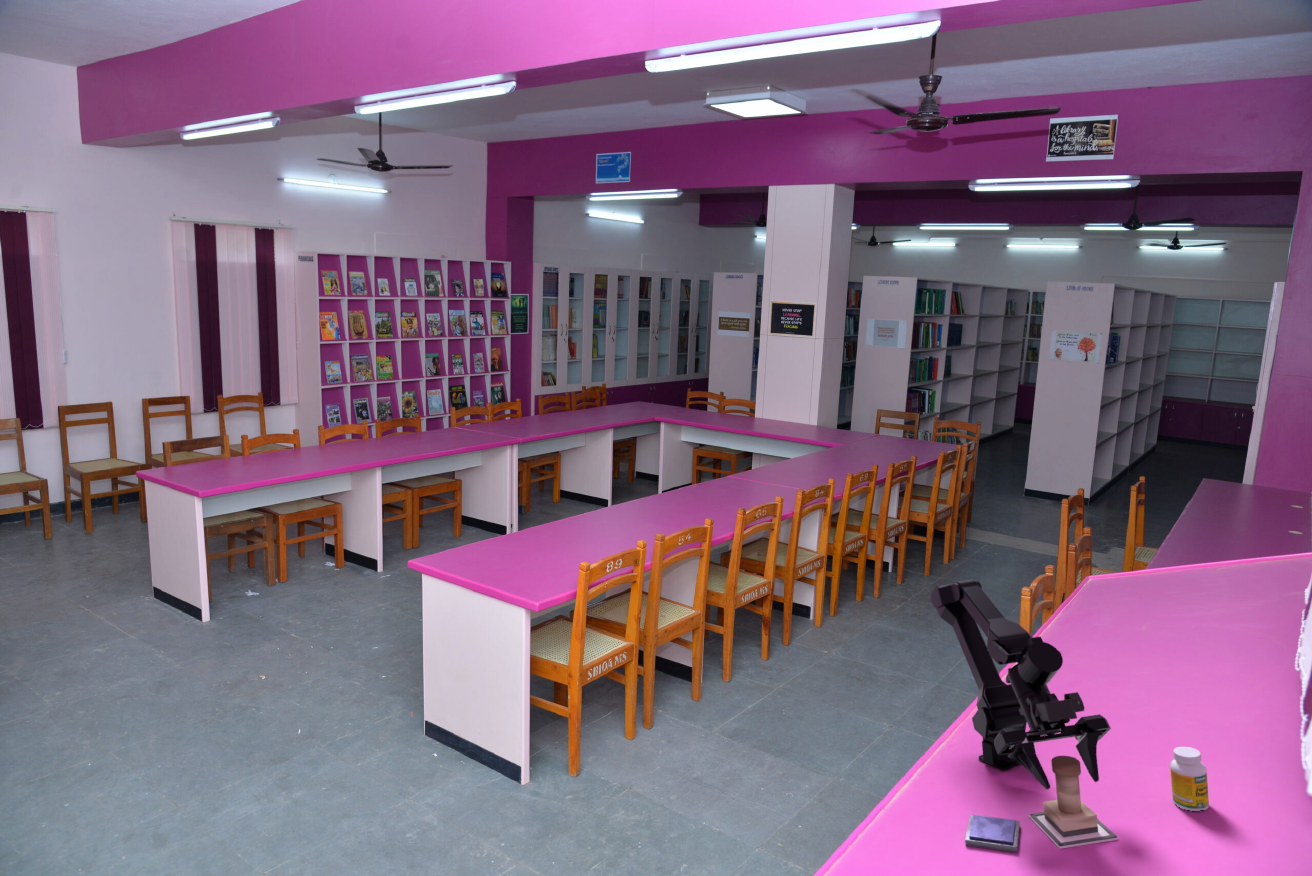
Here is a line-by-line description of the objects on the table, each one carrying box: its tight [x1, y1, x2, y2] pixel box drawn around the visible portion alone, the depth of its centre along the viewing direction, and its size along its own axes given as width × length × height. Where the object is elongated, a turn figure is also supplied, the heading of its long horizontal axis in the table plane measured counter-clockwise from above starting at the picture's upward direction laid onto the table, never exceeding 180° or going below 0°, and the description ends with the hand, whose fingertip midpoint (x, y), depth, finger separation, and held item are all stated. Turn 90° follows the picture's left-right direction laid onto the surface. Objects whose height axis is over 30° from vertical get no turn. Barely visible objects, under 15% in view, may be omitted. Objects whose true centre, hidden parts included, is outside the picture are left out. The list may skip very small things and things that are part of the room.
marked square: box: [1028, 811, 1119, 850], centre depth 142 cm, size 10×10×1 cm
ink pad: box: [964, 814, 1021, 854], centre depth 142 cm, size 8×8×1 cm
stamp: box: [1043, 755, 1098, 837], centre depth 142 cm, size 6×6×11 cm
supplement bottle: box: [1169, 746, 1210, 812], centre depth 144 cm, size 5×5×10 cm
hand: (1072, 784), depth 140 cm, fingers open, 8 cm apart
